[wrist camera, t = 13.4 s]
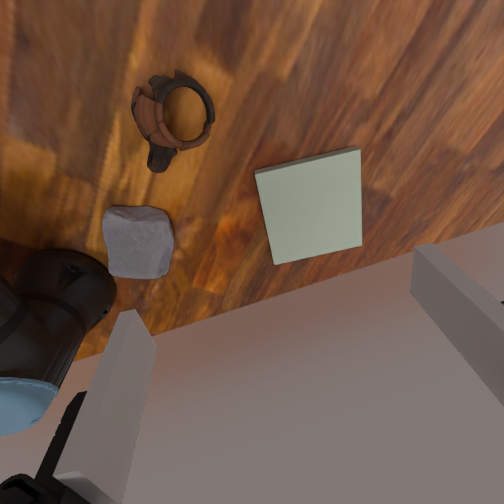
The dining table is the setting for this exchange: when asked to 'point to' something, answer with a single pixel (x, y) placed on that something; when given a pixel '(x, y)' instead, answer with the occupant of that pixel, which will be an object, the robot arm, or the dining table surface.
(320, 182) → the base
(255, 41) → the dining table surface
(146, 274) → the stone block
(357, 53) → the dining table surface
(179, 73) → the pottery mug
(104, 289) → the robot arm
